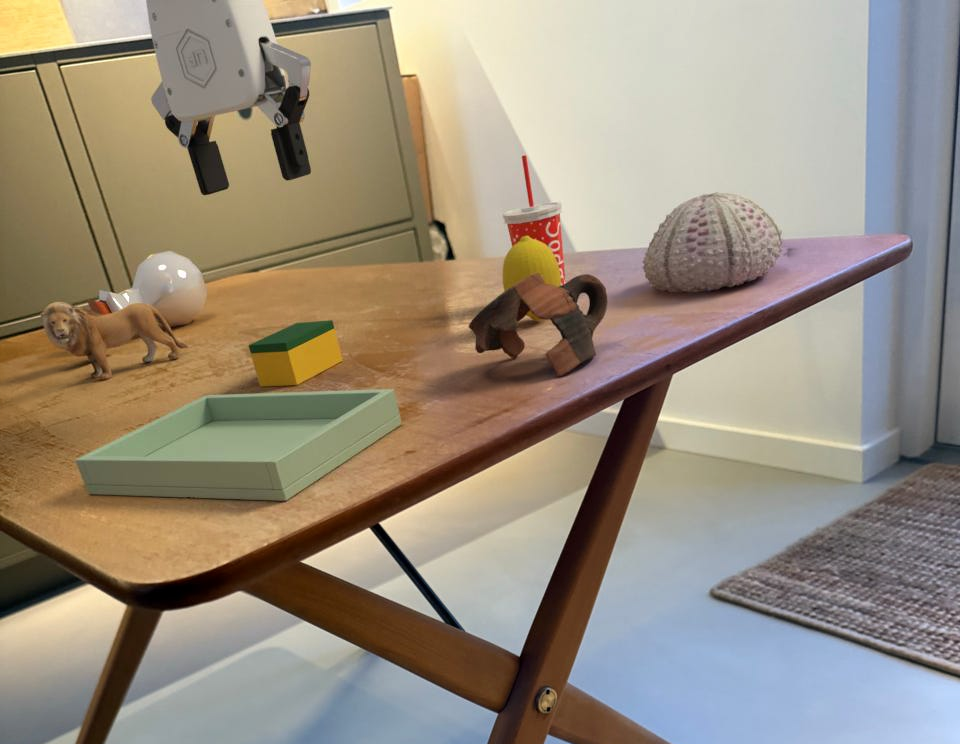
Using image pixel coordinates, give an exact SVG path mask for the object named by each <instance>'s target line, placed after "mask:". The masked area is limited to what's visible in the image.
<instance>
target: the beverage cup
mask: <svg viewBox="0 0 960 744" xmlns="http://www.w3.org/2000/svg"><path fill="white" fill-rule="evenodd" d="M521 161H522V167H523V174H524V181H525V187H526V195H527V201H528V205H526V206H522V207H518V208H514V209H512V210H508V211H505V212H504V213H503V214H502V217H503V220H504V224H506V226H507V230H508V233H509V238H510V239H509V240H510V242H511V248H512V247H513V246H514V245H515V244H516V243H518V242H519V241H520V239H521V238H522V237H524V236H529V237H530V238H531V239H534V240H538V241H540V242H542V243H544V244H545V245H547V246H548V247H549V248H550V249H551V251H552V252H553V254H554V256H555V258H556V261H557V263H558V266H559V270H560V275H561V285H564V284H566V283H567V282H566V272H565V270H566V269H565V260H564V258H565V257H564V249H563V248H564V247H563V246H564V245H563V237H562V236H563V235H562V222H561V213H563V210H562V202H560V201H550V202H543V203H542V202H541V203H534V198H533V190H532V184H531V177H530V170H529V163H528V158H527V154H525V155H522V156H521Z"/></svg>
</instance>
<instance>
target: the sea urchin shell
mask: <svg viewBox="0 0 960 744" xmlns="http://www.w3.org/2000/svg"><path fill="white" fill-rule="evenodd" d="M782 234H783V230H781V229H779V225H778V223H776V222H775V220H774V219H773V218H772V217H771V216H770V214H769V213H768V212H766V210H765V209H764V208H762V207H761V206H760V205H758V204H757V203H755V202H754V201H752V200H751V199H748V198H746V197H745V196H743V195H739V194H734V193H728V192H727V193H726V192H716V191H715V192H713V193H704V194H703V193H702V194H701V195H699V196H696V197H692V198H691V199H689V200H686V201H684V202H682V203H680V204H678V205H677V207H675V208H673V210H672V211H671V212H670V213H669V214H666V215H665V219H664V221H663V222H661V223H659V224H658V229H657V231H655V232H653V237H652V239H651V240H650V242H649V244H648V248H647V250H646V252H645V253H644V257H643V260H642V264H643V266H642V269H643V272H644V274H645V275H644V277H645V279H647V281H648V283H649V284H651V285H652V286H654V288H656V290H661V291H662V292H663V291H665V290H667V291H668V292H670V293H672V292H677V293H680V292H689V293H693V292H694V293H697V292H699V293H700V292H703V291H707V292H711V291H715V290H719V289H720V288H724V287H727V288H733V287H734V286H737V287H738V286H740V285H743V284H744V282H747V283H749V282H751V281H755V280H756V279H757V278H758V277H762V276H763V274H768V273H769V270H770V268H772V267H774V266H776V261H777V260H778V258H779V257H780V256H781V255H780V253H781V252H782V251H783V249H782V245H783V244H784V243H783V242H784V241H785V240H784V239H783V237H782Z"/></svg>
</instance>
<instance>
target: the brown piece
mask: <svg viewBox="0 0 960 744" xmlns="http://www.w3.org/2000/svg"><path fill="white" fill-rule="evenodd" d="M581 294H586V295H587V297H588V301H589V302H588V303H589V304H588V310H587V312H586V314H584V311H582V310H581V309H580V306H579V304H578V300H579V298H580V295H581ZM608 301H609V300H608V294H607V289H606V286H605V285H604V284H603V283H602V282H601V280H600V278H598V277H597V276H594V275H593V274H587V273H586V274H584V273H583V274H580V275H577V276H574V277H573V278H571V279H570V280H568V281H567V282H566V284H564V285H561V286H559V287H557V286H555V285H551V284H547V283H545V281H544V280H543V278H542V277H541V274H540V273H535V274H533V275H530V276H528V277H527V278H525V279H523V280H521V281H520V282H518V283H517V284H515V285H514V286H513V287H511V288H509V289H508V290H506V291H503V292H502V293H500V294H499V295H498V296H497V297H496V298H494V299H493V300H492V301H490V302H489V303H488V304H487V305H485V306H484V308H483V309H481V310H480V311H479V312H478V313H477V314H476V315H475V316H474V318H472V319H471V321H470V323H469V324H468V329H470V331H472V332H473V334H474V335H475V342H474V343H475V346H474V350H475V351H476V352H477V354H483V353H484V352H489V351H491V352H492V351H499V350H502V351H503V353H504V354H506V355H508V356H509V357H510V358H512V359H514V360H515V359H517V358H518V356H519V355H520V354H521V353H522V352H523V351H524V350H525V345H526V344H525V341H524V340H523V339H522V338H521V337H520V336H519V334H518V331H517V329H519V328H520V324H519V322H520V321H521V320H523V319H524V318H525V317H526V316H527V315H526V314H527V313H528V312H529V311H531V313H532V314H533V315H536V316H537V317H538V318H540V319H542V320H543V321H544V320H545V321H548V320H550V321H551V324H553V326H554V327H555V328H556V329H557V330H558V331H559V333H560V336H561V339H560V340H559V341H558V343H556V344H555V345H554V346H553V347H552V348H550V349H549V350H547V351H546V353H545V357H546V358H547V360H548V362H549V363H550V364H551V365H552V367H553V369H554V371H555V372H556V375H557V377H562V376H563V375H565V374H567V373H569V372H570V371H572V370H574V369H575V368H576V367H577V366H579V365H580V364H582V363H584V362H585V361H588V360H589V361H590V360H591V359H593V358H594V357H596V356H597V352H596V350H595V346H594V340H593V337H594V333H595V330H596V329H597V327H598V326H599V325H600V323H601V322H602V321H603V319H604V317H605V315H606V312H607V308H608V303H609V302H608ZM542 320H541V321H542Z"/></svg>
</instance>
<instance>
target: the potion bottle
mask: <svg viewBox="0 0 960 744" xmlns="http://www.w3.org/2000/svg"><path fill="white" fill-rule="evenodd" d="M98 294H99V295H98V300H92V299H86V301H87V304H88V306H89V309H90V310H92V311H94V312H96V313H101V314H103V315H107V314H111V313H114V312H117V311H119V310H121V309H123V308H125V307H127V306H128V305H130V304H133V303H144V304H148V305H150V306H152V307H154V308H155V309H156V310H157V311H159V313H160V314H161V315H162V316H163V317H164V319H165V320H166V322H167V323H168V325H169V327H170V328H171V329H172V328H175V327H181V326H187V325H189V324H191V323H192V322H193V321H194V319H196V317H197V316H198V315H199V314H200V313H201V312H202V311H203V309H204V306H205V303H206V300H207V297H208V295H209V294H208V290H207V286H206V283H205V281H204V277H203V274H202V272H201V270H200V269H199V268H198V267H197V266H196V264H194V263H193V261H192V260H191V259H190V258H188V257H186V256H184V255H181V254H179V253H177V252H175V251H172V250H167V251H166V250H165V251H162V252H161V251H160V252H157V253H151V254H149V255H148V257H146V258H144V260H143V261H142V262H141V263H139V265H138V266H137V268H136V272H135V276H134V279H133V284H132V287H130V288H128V289H127V288H126V289H125V290H122V291H120V292H118V293H115V292H112V291H108V290H102V289H99V293H98ZM155 319H156V322H157V324H160V325H162V324H161V323H160V322H159V320H158V319H157V318H155Z"/></svg>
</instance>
